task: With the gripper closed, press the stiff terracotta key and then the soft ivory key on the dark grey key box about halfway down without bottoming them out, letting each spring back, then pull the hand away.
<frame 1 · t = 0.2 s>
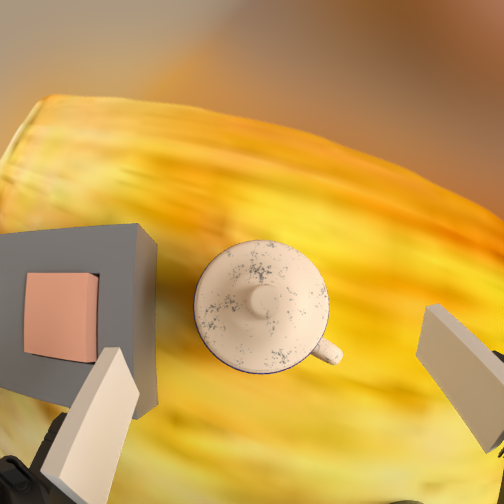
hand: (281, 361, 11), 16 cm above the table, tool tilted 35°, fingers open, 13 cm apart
key box: (44, 317, 27), on the table
terracotta key: (65, 317, 22), point 5 cm above the table, slide at 0.0 cm
teacup with lid: (270, 323, 28), on the table
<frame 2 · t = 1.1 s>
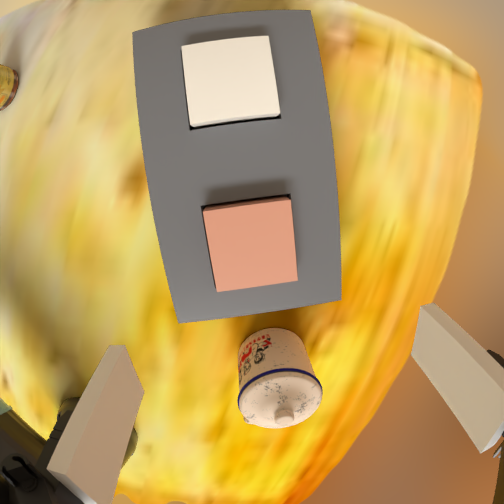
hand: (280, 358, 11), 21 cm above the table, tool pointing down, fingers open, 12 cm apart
key box: (239, 160, 29), on the table
sauce bottle: (7, 90, 24), on the table
terracotta key: (250, 241, 26), point 5 cm above the table, slide at 0.0 cm
ivory key: (229, 82, 22), point 5 cm above the table, slide at 0.0 cm
teacup with lid: (265, 361, 37), on the table
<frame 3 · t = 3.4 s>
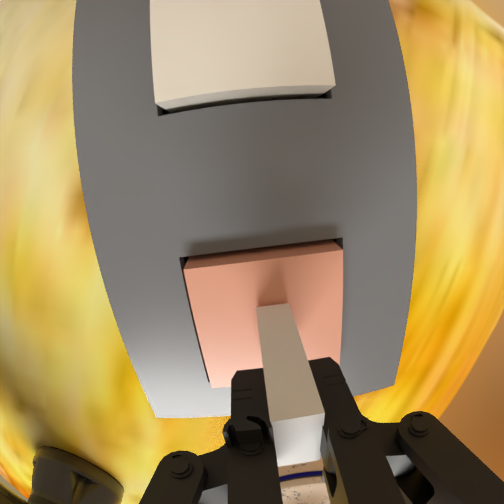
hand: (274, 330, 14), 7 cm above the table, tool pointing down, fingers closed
key box: (248, 169, 18), on the table
terracotta key: (267, 308, 16), point 5 cm above the table, slide at 0.7 cm, touching gripper
ivory key: (236, 31, 11), point 5 cm above the table, slide at 0.0 cm
teacup with lid: (276, 432, 26), on the table
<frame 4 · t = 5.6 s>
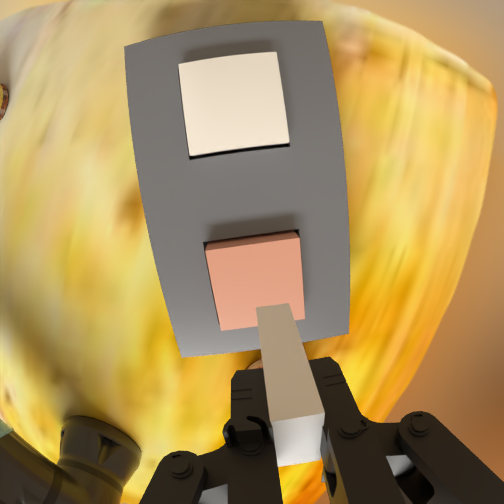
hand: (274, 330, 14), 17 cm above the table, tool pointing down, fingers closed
key box: (243, 186, 28), on the table
terracotta key: (256, 277, 25), point 5 cm above the table, slide at 0.0 cm
ivory key: (233, 104, 20), point 5 cm above the table, slide at 0.0 cm
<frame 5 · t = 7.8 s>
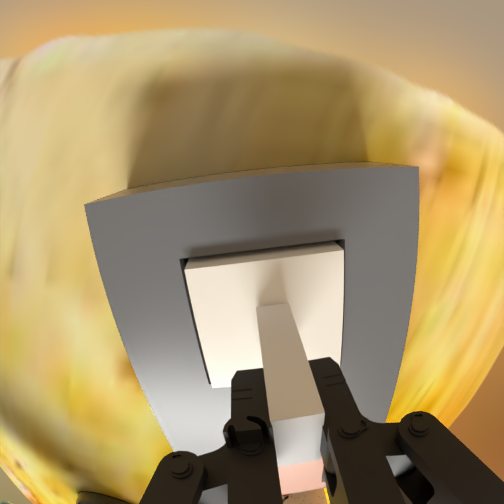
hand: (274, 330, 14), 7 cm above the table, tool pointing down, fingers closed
key box: (269, 356, 22), on the table
terracotta key: (282, 458, 19), point 5 cm above the table, slide at 0.0 cm
ivory key: (267, 308, 16), point 5 cm above the table, slide at 0.8 cm, touching gripper
teacup with lid: (282, 486, 30), on the table
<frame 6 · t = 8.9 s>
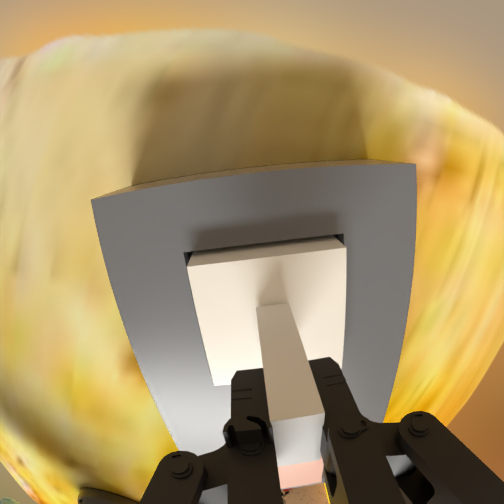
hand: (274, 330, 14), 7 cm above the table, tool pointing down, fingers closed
key box: (270, 350, 23), on the table
terracotta key: (283, 452, 20), point 5 cm above the table, slide at 0.0 cm
ivory key: (270, 306, 16), point 5 cm above the table, slide at 0.3 cm
teacup with lid: (283, 482, 31), on the table
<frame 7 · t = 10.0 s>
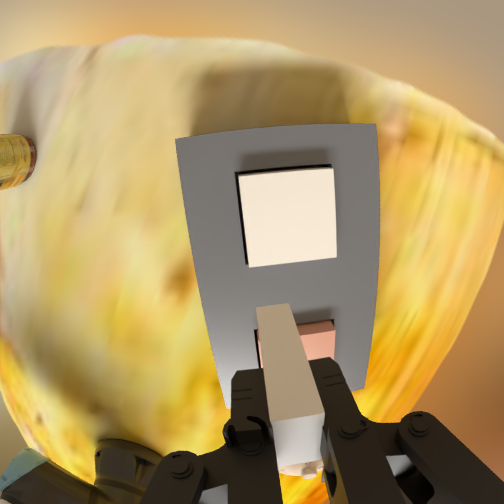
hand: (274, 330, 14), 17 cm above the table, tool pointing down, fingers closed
key box: (284, 267, 31), on the table
sauce bottle: (23, 158, 26), on the table
terracotta key: (295, 352, 28), point 5 cm above the table, slide at 0.0 cm
ivory key: (286, 213, 24), point 5 cm above the table, slide at 0.1 cm
teacup with lid: (291, 417, 40), on the table
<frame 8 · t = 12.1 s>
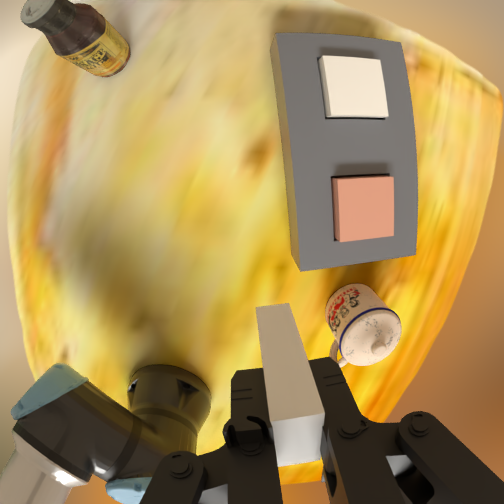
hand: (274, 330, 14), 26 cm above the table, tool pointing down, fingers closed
key box: (341, 147, 36), on the table
sauce bottle: (113, 59, 31), on the table
terracotta key: (361, 205, 33), point 5 cm above the table, slide at 0.0 cm
ivory key: (350, 88, 29), point 5 cm above the table, slide at 0.1 cm
teacup with lid: (345, 314, 44), on the table
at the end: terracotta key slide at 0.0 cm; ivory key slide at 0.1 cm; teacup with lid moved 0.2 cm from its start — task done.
